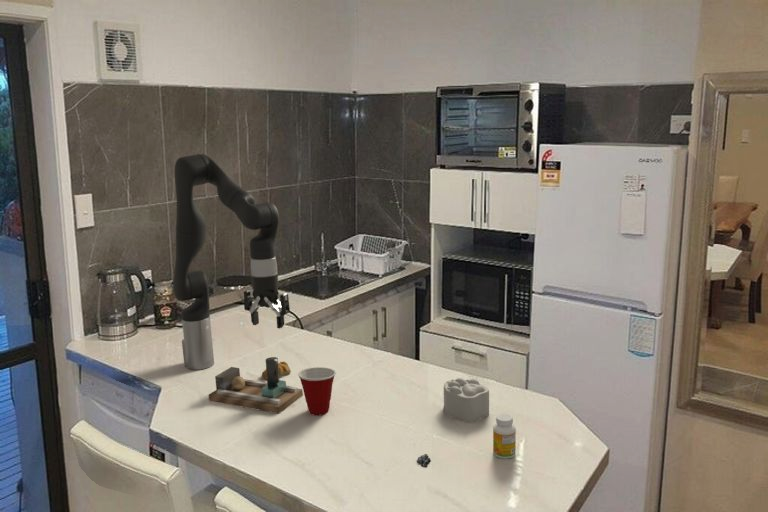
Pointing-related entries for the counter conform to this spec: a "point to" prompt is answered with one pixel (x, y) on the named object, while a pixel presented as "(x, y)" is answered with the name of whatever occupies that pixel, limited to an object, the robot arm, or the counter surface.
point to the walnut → (238, 383)
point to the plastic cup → (317, 388)
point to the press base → (251, 393)
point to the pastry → (280, 370)
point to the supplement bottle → (504, 437)
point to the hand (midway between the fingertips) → (268, 326)
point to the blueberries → (424, 460)
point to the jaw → (273, 380)
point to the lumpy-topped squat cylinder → (466, 400)
